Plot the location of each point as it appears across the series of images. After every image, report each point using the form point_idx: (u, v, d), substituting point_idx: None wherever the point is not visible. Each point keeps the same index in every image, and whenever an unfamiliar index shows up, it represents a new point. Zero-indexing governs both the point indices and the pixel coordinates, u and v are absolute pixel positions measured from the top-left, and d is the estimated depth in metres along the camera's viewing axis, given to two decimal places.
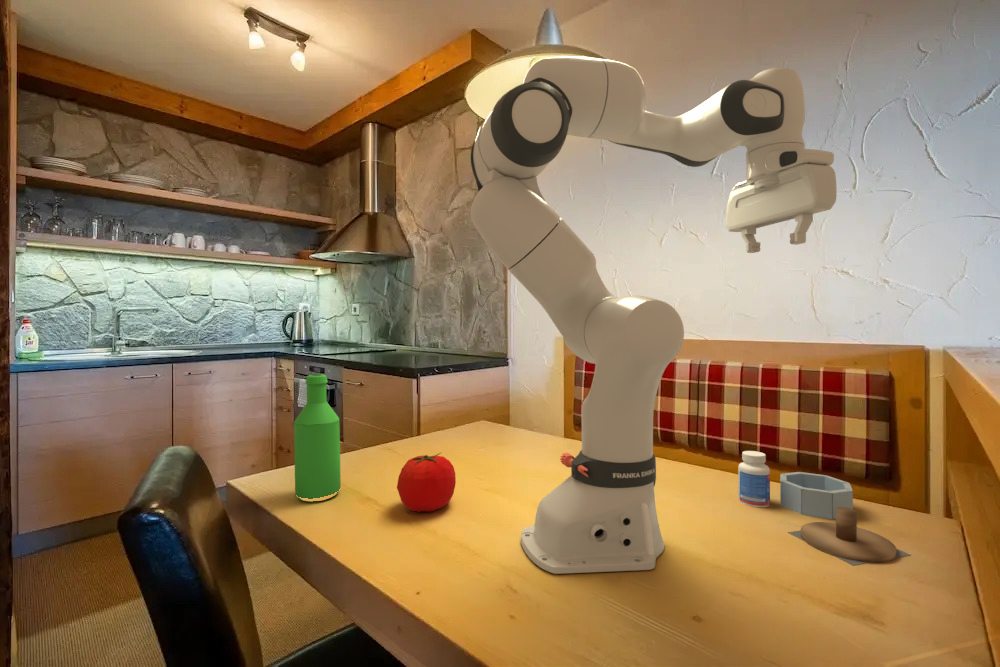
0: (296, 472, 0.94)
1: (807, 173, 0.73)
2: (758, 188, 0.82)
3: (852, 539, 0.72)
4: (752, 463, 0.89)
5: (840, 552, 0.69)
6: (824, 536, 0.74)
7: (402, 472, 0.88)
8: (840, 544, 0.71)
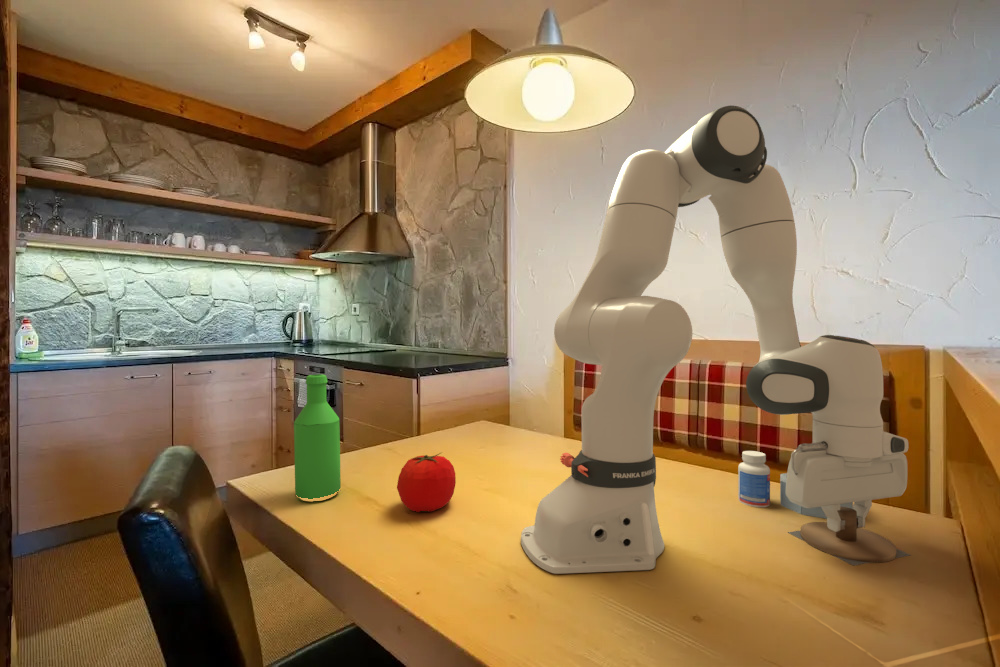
0: (296, 472, 0.94)
1: (905, 463, 0.73)
2: (858, 466, 0.70)
3: (852, 539, 0.72)
4: (752, 463, 0.89)
5: (840, 552, 0.69)
6: (824, 536, 0.74)
7: (402, 472, 0.87)
8: (840, 544, 0.71)
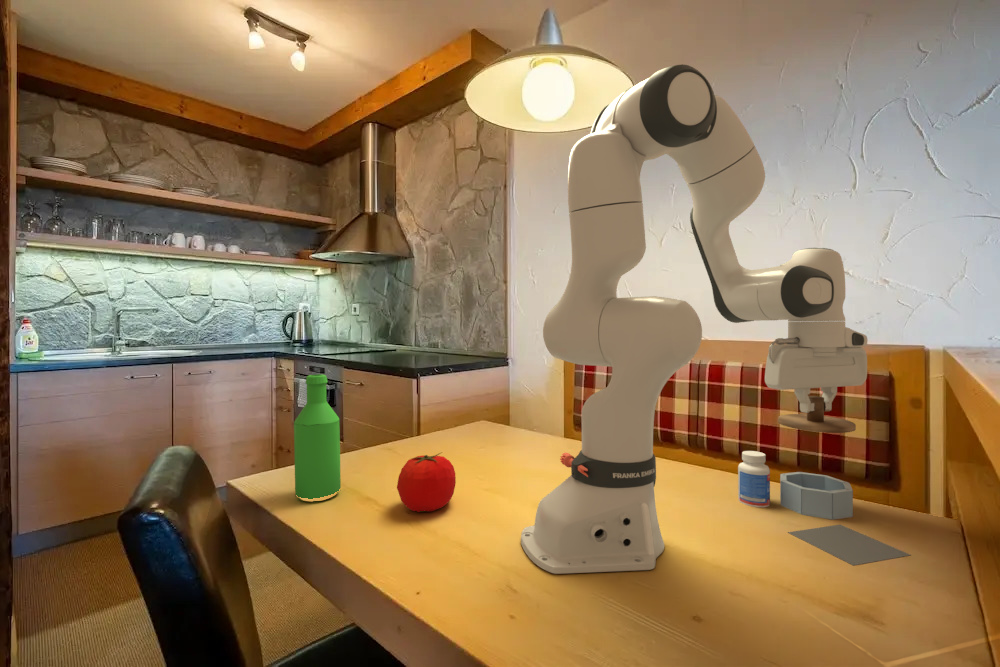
0: (296, 472, 0.94)
1: (865, 356, 0.87)
2: (824, 356, 0.85)
3: (820, 420, 0.86)
4: (752, 463, 0.89)
5: (808, 426, 0.83)
6: (797, 420, 0.88)
7: (402, 472, 0.88)
8: (809, 423, 0.86)
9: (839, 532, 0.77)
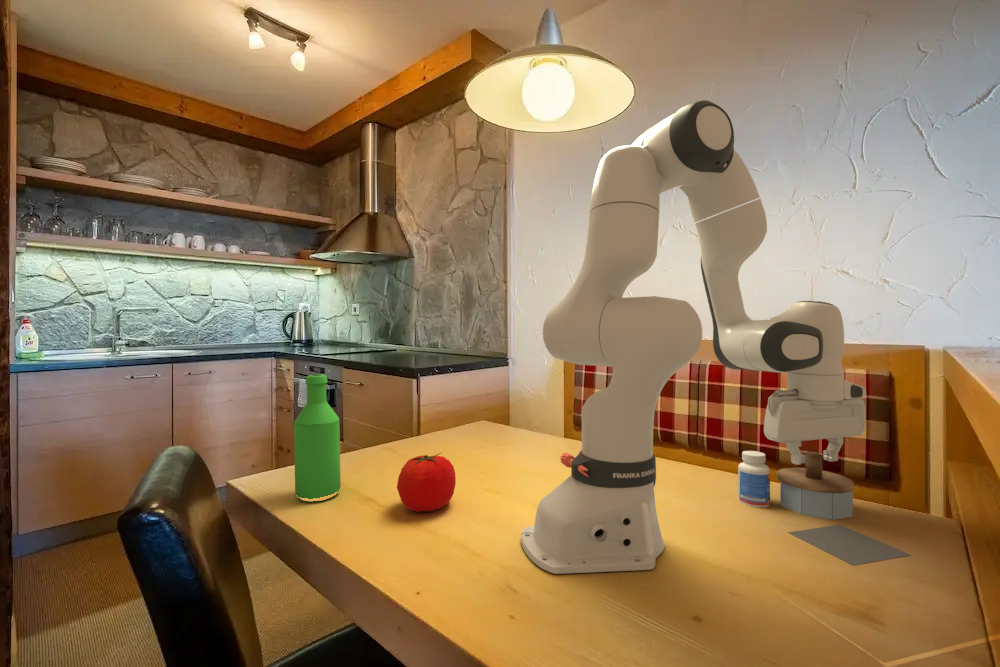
0: (296, 472, 0.94)
1: (863, 407, 0.88)
2: (823, 408, 0.85)
3: (818, 477, 0.87)
4: (752, 463, 0.89)
5: (807, 486, 0.84)
6: (796, 476, 0.89)
7: (402, 472, 0.88)
8: (808, 481, 0.86)
9: (839, 532, 0.77)
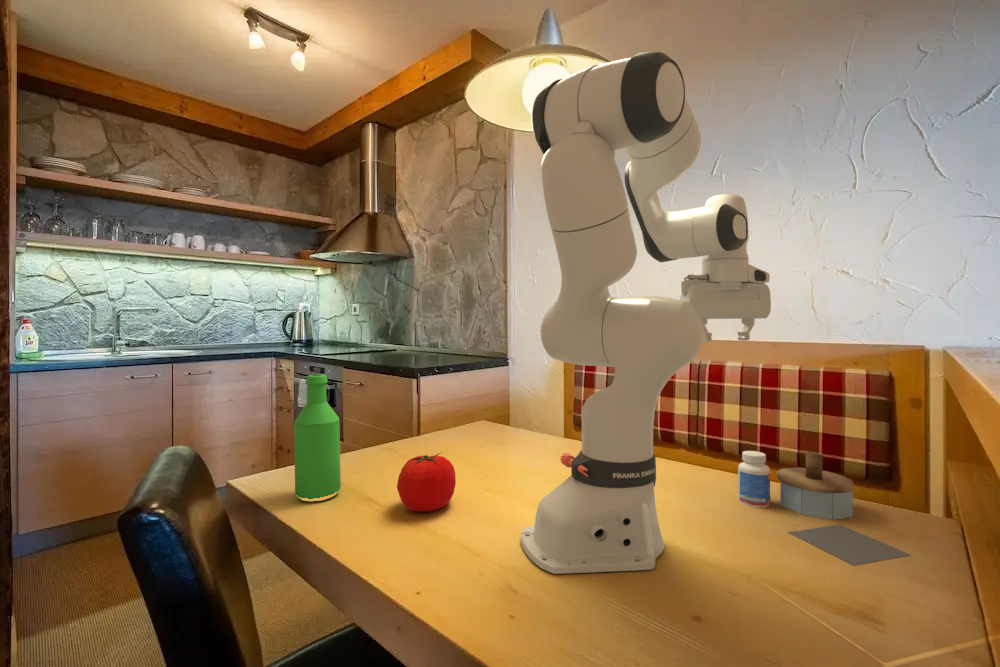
0: (296, 472, 0.94)
1: (768, 292, 0.99)
2: (730, 289, 0.96)
3: (818, 477, 0.87)
4: (753, 463, 0.89)
5: (807, 486, 0.84)
6: (796, 476, 0.89)
7: (402, 472, 0.88)
8: (808, 481, 0.86)
9: (839, 532, 0.77)
